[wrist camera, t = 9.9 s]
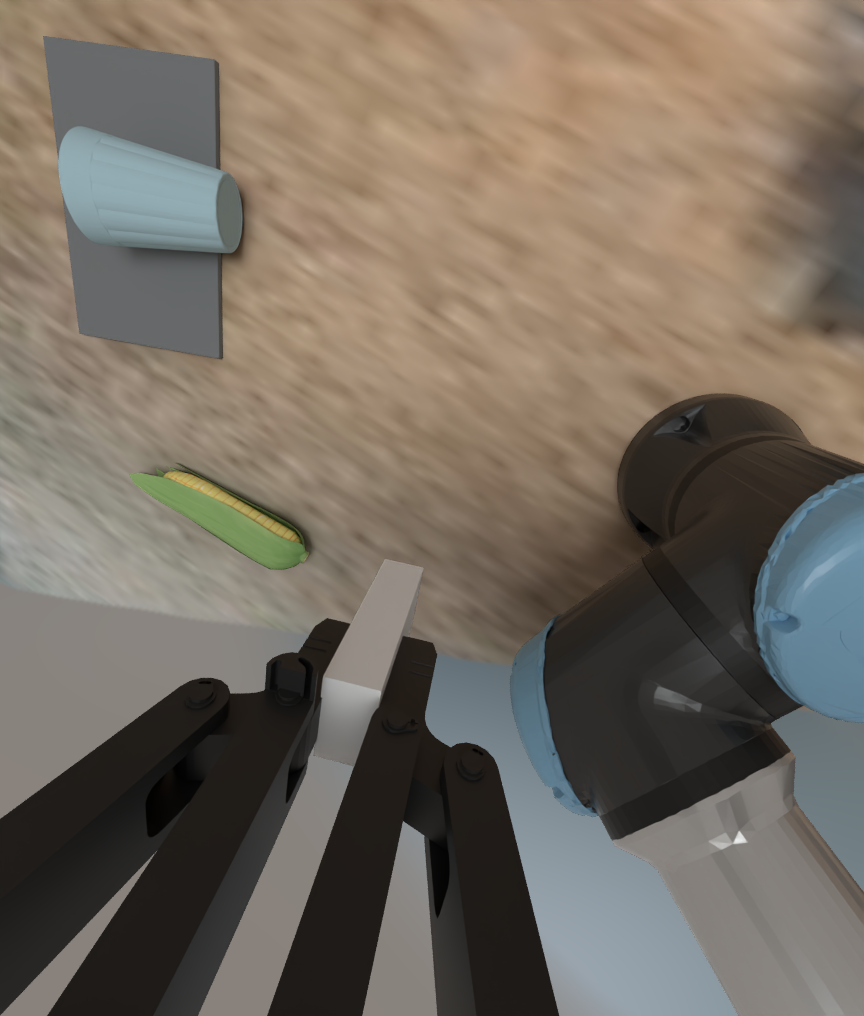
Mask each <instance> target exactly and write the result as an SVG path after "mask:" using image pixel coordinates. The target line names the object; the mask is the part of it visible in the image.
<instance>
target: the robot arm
mask: <svg viewBox="0 0 864 1016" xmlns="http://www.w3.org/2000/svg"><path fill="white" fill-rule="evenodd" d="M618 497H619V502H620V505H621V508H622V511H623V513H624V515H625V517H626V519H627V520H628V522H629V524H630V525H631V527H632V528H633V529H634V531H635V532H636V533H637V535H638V536H639V537H640V538H641V539H642V540H643V541H644V542H645V543H646V544H648V545H649V546H650V547H651V548H653V549H654V551H652V552H651V553H649V554H648V555H647V556H645V557H643V558H641V559H640V560H639V561H637V562H636V563H634V564H633V565H632V566H630V567H629V568H627V569H626V570H625V571H623V572H622V573H620V574H619V575H618V576H616V577H615V578H613V579H612V580H611V581H609V582H608V583H606V584H605V585H604V586H602V587H601V588H599V589H598V590H597V591H595V592H594V593H593V594H591V595H590V596H588V597H587V598H586V599H584V600H583V601H581V602H580V603H579V604H577V605H576V606H574V607H573V608H571V609H570V610H568V611H567V612H565V613H564V614H560V615H558V616H556V617H554V618H553V619H551V620H550V621H549V622H548V624H547V625H546V627H545V628H544V629H543V630H542V631H540V632H539V633H538V634H537V635H536V636H534V637H533V638H532V639H531V640H529V641H528V642H527V643H525V644H524V645H523V646H522V647H521V649H520V650H519V651H518V653H517V655H516V657H515V659H514V662H513V667H512V674H511V677H510V694H511V703H512V709H513V714H514V718H515V722H516V725H517V728H518V731H519V735H520V737H521V740H522V743H523V745H524V748H525V750H526V752H527V755H528V757H529V759H530V761H531V763H532V765H533V767H534V769H535V770H536V772H537V774H538V775H539V777H540V778H541V780H542V781H543V783H544V784H545V786H548V787H552V789H553V793H554V796H555V798H556V799H557V800H558V801H559V802H560V803H561V804H562V805H563V806H564V807H565V808H566V809H568V810H569V811H571V812H573V813H575V814H578V815H582V816H585V815H587V816H591V817H596V816H598V815H599V817H600V818H601V820H602V822H603V824H604V826H605V828H606V830H607V832H608V834H609V836H610V837H611V839H612V841H613V843H614V845H615V846H616V847H618V848H620V849H622V850H624V851H626V852H628V853H630V854H632V855H634V856H636V857H638V858H640V859H643V860H644V861H646V862H648V863H649V864H651V865H652V866H653V867H654V868H656V869H657V870H658V872H659V873H660V876H661V878H662V879H663V881H664V883H665V885H666V886H667V888H668V890H669V892H670V894H671V895H672V897H673V899H674V901H675V903H676V904H677V906H678V908H679V910H680V912H681V913H682V915H683V917H684V919H685V921H686V922H687V924H688V926H689V928H690V930H691V931H692V933H693V935H694V937H695V938H696V940H697V942H698V944H699V946H700V947H701V949H702V951H703V953H704V955H705V957H706V958H707V960H708V962H709V964H710V965H711V967H712V969H713V971H714V973H715V974H716V976H717V978H718V980H719V981H720V983H721V985H722V987H723V989H724V991H725V993H726V994H727V996H728V998H729V1000H730V1002H731V1003H732V1005H733V1007H734V1009H735V1010H736V1012H737V1014H738V1016H864V892H863V891H862V889H861V888H860V887H859V885H858V884H857V883H856V881H855V880H854V879H853V878H852V876H851V875H850V874H849V872H848V871H847V870H846V868H845V867H844V866H843V864H842V863H841V862H840V860H839V859H838V858H837V857H836V855H835V854H834V853H833V851H832V850H831V848H830V847H829V846H828V845H827V843H826V842H825V841H824V839H823V838H822V837H821V835H820V834H819V833H818V831H817V830H816V829H815V828H814V826H813V825H812V823H811V822H810V821H809V820H808V818H807V817H806V816H805V814H804V813H803V812H802V810H801V809H800V808H799V806H798V804H797V802H796V800H795V798H794V796H793V792H794V774H795V756H794V755H793V753H792V752H791V750H790V749H789V748H788V746H787V745H786V744H785V743H784V741H783V740H782V739H781V738H780V736H779V735H778V734H777V733H776V731H775V730H774V729H773V728H772V726H771V723H772V722H773V721H775V720H777V719H779V718H780V717H782V716H784V715H786V714H788V713H790V712H792V711H794V710H796V709H798V708H800V707H802V706H806V707H808V708H809V709H811V710H813V711H816V712H818V713H820V714H822V715H824V716H827V717H830V718H834V719H836V720H843V721H847V722H855V723H864V464H862V463H860V462H857V461H854V460H851V459H849V458H846V457H843V456H840V455H838V454H835V453H832V452H829V451H826V450H824V449H821V448H818V447H815V446H813V445H811V444H810V442H809V441H808V440H807V438H806V437H805V436H804V434H803V432H802V431H801V429H800V428H799V427H798V425H797V424H796V423H795V422H794V421H793V420H792V419H791V418H790V417H789V416H787V415H786V414H785V413H783V412H782V411H780V410H779V409H777V408H775V407H774V406H772V405H769V404H767V403H765V402H762V401H759V400H755V399H752V398H748V397H745V396H740V395H734V394H709V395H702V396H698V397H694V398H691V399H687V400H685V401H682V402H680V403H677V404H675V405H673V406H671V407H669V408H667V409H666V410H664V411H663V412H661V413H660V414H658V415H657V416H655V417H654V418H653V419H652V420H650V421H649V422H648V423H647V424H646V425H645V426H644V427H643V428H642V429H641V430H640V431H639V433H638V434H637V435H636V436H635V438H634V439H633V440H632V442H631V444H630V445H629V447H628V449H627V451H626V453H625V455H624V457H623V460H622V462H621V466H620V469H619V474H618ZM422 573H423V567H418V566H414V565H410V564H406V563H401V562H397V561H393V560H388V559H385V560H384V562H383V564H382V565H381V567H380V569H379V571H378V573H377V575H376V577H375V579H374V581H373V583H372V584H371V586H370V588H369V590H368V592H367V594H366V596H365V598H364V600H363V602H362V603H361V605H360V607H359V609H358V611H357V613H356V615H355V617H354V619H353V621H352V622H351V624H349V623H345V622H341V621H337V620H332V619H328V618H327V619H325V620H324V621H322V622H321V623H319V624H318V625H316V626H315V627H314V629H313V630H312V632H311V633H310V635H309V637H308V639H307V640H306V641H305V643H304V644H303V647H301V649H300V651H299V652H298V653H293V652H292V653H285V654H281V655H278V656H276V657H274V658H272V659H271V660H270V661H269V662H268V663H267V667H266V682H265V690H264V691H261V692H257V693H245V694H230V691H229V688H228V686H227V685H226V684H225V683H224V682H222V681H221V680H218V679H214V678H200V679H196V680H192V681H189V682H187V683H186V684H184V685H182V686H180V687H179V688H177V689H176V690H175V691H174V692H172V693H171V694H169V695H168V696H167V697H165V698H164V699H163V700H161V701H160V702H158V703H157V704H156V705H154V706H153V707H152V708H150V709H149V710H148V711H146V712H145V713H143V714H142V715H141V716H139V717H138V718H137V719H135V720H134V721H133V722H131V723H130V724H129V725H127V726H126V727H124V728H123V729H122V730H120V731H119V732H118V733H116V734H115V735H114V736H112V737H111V738H110V739H108V740H107V741H106V742H104V743H103V744H102V745H100V746H99V747H97V748H96V749H95V750H93V751H92V752H91V753H89V754H88V755H87V756H85V757H84V758H83V759H81V760H80V761H79V762H77V763H76V764H74V765H73V766H72V767H70V768H69V769H68V770H66V771H65V772H63V773H62V774H61V775H60V776H58V777H57V778H55V779H54V780H53V781H51V782H50V783H48V784H47V785H46V786H44V787H43V788H42V789H40V790H39V791H38V792H37V793H35V794H34V795H32V796H31V797H29V798H28V799H27V800H25V801H24V802H23V803H22V804H20V805H19V806H17V807H16V808H15V809H13V810H12V811H10V812H9V813H8V814H7V815H5V816H4V817H2V818H1V819H0V1015H1V1014H2V1013H3V1012H4V1011H5V1010H6V1009H7V1008H8V1007H9V1005H10V1004H11V1003H12V1002H13V1001H14V1000H15V999H16V998H17V997H18V996H19V995H20V994H21V993H22V992H23V991H24V990H25V989H26V988H27V987H28V985H29V984H30V983H31V982H32V981H33V980H34V979H35V978H36V977H37V976H38V975H39V974H40V973H41V972H42V971H43V970H44V968H46V967H47V966H48V964H49V963H50V962H51V961H52V960H53V959H54V958H55V957H56V956H57V955H58V954H59V953H60V952H61V951H62V950H63V949H64V948H65V946H67V945H68V943H69V942H70V941H71V940H72V939H73V938H74V937H75V936H76V935H77V934H78V933H79V932H80V931H81V930H82V929H83V928H84V927H85V926H86V924H87V923H88V922H89V921H90V920H91V919H92V918H93V917H94V916H95V915H96V914H97V913H98V912H99V911H100V910H101V909H102V908H103V907H104V906H105V905H106V904H107V902H108V901H109V900H110V899H111V898H112V897H113V896H114V895H115V894H116V893H117V892H118V891H119V890H120V889H121V888H122V887H123V886H124V885H125V884H126V883H127V881H128V880H129V879H130V878H131V877H132V876H133V875H134V874H135V873H136V872H137V871H138V870H139V869H140V868H141V867H142V866H143V865H144V864H145V863H146V862H147V861H148V859H149V858H150V857H151V856H152V855H153V854H154V853H155V852H156V851H157V852H156V854H155V855H154V856H153V858H152V859H151V861H150V862H149V864H148V866H147V867H146V868H145V870H144V872H143V873H142V874H141V876H140V877H139V879H138V881H137V882H136V883H135V885H134V887H133V888H132V889H131V891H130V892H129V894H128V895H127V897H126V898H125V900H124V901H123V903H122V904H121V906H120V908H119V909H118V911H117V912H116V914H115V915H114V916H113V918H112V919H111V921H110V922H109V924H108V925H107V927H106V928H105V930H104V931H103V933H102V934H101V936H100V937H99V939H98V941H97V942H96V943H95V945H94V946H93V948H92V949H91V951H90V953H89V954H88V955H87V957H86V959H85V960H84V961H83V963H82V964H81V966H80V967H79V969H78V970H77V972H76V973H75V975H74V976H73V978H72V979H71V981H70V983H69V984H68V985H67V987H66V988H65V990H64V991H63V993H62V994H61V996H60V997H59V999H58V1001H57V1002H56V1003H55V1005H54V1007H53V1008H52V1009H51V1011H50V1012H49V1014H48V1015H47V1016H198V1014H199V1012H200V1010H201V1007H202V1005H203V1003H204V1000H205V998H206V996H207V994H208V991H209V989H210V987H211V985H212V983H213V980H214V978H215V976H216V974H217V972H218V969H219V967H220V965H221V963H222V960H223V958H224V956H225V953H226V951H227V949H228V947H229V945H230V942H231V940H232V938H233V936H234V933H235V931H236V929H237V927H238V924H239V922H240V920H241V918H242V915H243V913H244V911H245V909H246V906H247V904H248V902H249V900H250V898H251V895H252V893H253V891H254V888H255V886H256V884H257V882H258V879H259V877H260V875H261V873H262V871H263V868H264V866H265V864H266V862H267V859H268V857H269V855H270V853H271V850H272V848H273V846H274V844H275V841H276V839H277V837H278V835H279V832H280V830H281V828H282V826H283V823H284V821H285V819H286V817H287V815H288V812H289V810H290V808H291V806H292V803H293V801H294V799H295V797H296V794H297V792H298V790H299V787H300V785H301V783H302V781H303V779H304V776H305V774H306V770H307V764H308V757H309V755H310V753H311V751H312V749H313V747H314V744H315V747H314V756H317V757H321V758H324V759H328V760H332V761H336V762H340V763H343V764H347V765H351V766H354V768H353V771H352V774H351V777H350V780H349V783H348V786H347V789H346V791H345V794H344V797H343V800H342V803H341V806H340V809H339V811H338V814H337V817H336V820H335V823H334V826H333V829H332V831H331V834H330V837H329V840H328V843H327V846H326V849H325V852H324V855H323V858H322V860H321V863H320V866H319V869H318V872H317V875H316V877H315V880H314V883H313V886H312V889H311V892H310V895H309V898H308V900H307V903H306V906H305V909H304V912H303V915H302V918H301V921H300V924H299V926H298V929H297V932H296V935H295V938H294V941H293V943H292V946H291V949H290V952H289V955H288V958H287V961H286V963H285V967H284V969H283V972H282V975H281V978H280V981H279V984H278V987H277V989H276V992H275V995H274V998H273V1001H272V1004H271V1006H270V1009H269V1013H268V1015H267V1016H362V1014H363V1009H364V1004H365V999H366V995H367V990H368V985H369V980H370V975H371V971H372V966H373V961H374V956H375V951H376V947H377V942H378V937H379V933H380V928H381V923H382V918H383V914H384V909H385V904H386V899H387V894H388V890H389V885H390V880H391V875H392V871H393V866H394V861H395V856H396V851H397V847H398V842H399V837H400V832H401V828H402V823H403V821H404V822H405V823H407V824H408V825H410V826H411V827H413V828H414V829H416V830H418V831H419V832H420V833H422V834H423V835H424V836H425V838H424V839H425V853H426V868H427V881H428V894H429V907H430V921H431V935H432V949H433V961H434V976H435V988H436V1002H437V1015H438V1016H559V1013H558V1009H557V1005H556V1001H555V997H554V993H553V989H552V985H551V981H550V977H549V973H548V968H547V965H546V961H545V956H544V952H543V948H542V944H541V940H540V936H539V932H538V928H537V924H536V920H535V916H534V912H533V908H532V903H531V899H530V896H529V891H528V887H527V884H526V880H525V875H524V871H523V867H522V863H521V859H520V855H519V851H518V847H517V843H516V839H515V835H514V831H513V827H512V822H511V819H510V814H509V810H508V806H507V802H506V798H505V794H504V790H503V786H502V782H501V778H500V774H499V770H498V767H497V764H496V762H495V760H494V758H493V757H492V756H491V755H490V754H489V753H488V752H487V751H486V750H485V749H483V748H481V747H480V746H478V745H475V744H470V743H459V744H456V745H454V746H453V747H449V746H447V745H445V744H444V743H442V742H441V741H439V740H438V739H436V738H435V737H434V736H433V735H432V734H431V732H430V731H429V729H428V728H427V726H426V722H425V711H426V706H427V701H428V697H429V692H430V687H431V681H432V677H433V672H434V667H435V663H436V658H437V653H436V650H435V647H434V645H433V643H431V642H427V641H423V640H419V639H415V638H410V637H409V634H410V631H411V628H412V623H413V618H414V613H415V608H416V603H417V598H418V593H419V588H420V583H421V578H422Z"/></svg>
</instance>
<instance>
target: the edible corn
mask: <svg viewBox="0 0 864 1016" xmlns="http://www.w3.org/2000/svg"><path fill="white" fill-rule="evenodd" d="M176 464H177V463H176ZM178 465H179V464H178ZM180 466H181V465H180ZM166 467H167V466H166ZM181 467H183V466H181ZM168 468H170V467H168ZM183 468H185V467H183ZM170 469H172V470H174V471H172V472H168V473H166V474H165V473H163V472H161V471H160V470H158V469H156V471H157V474H158V476H159V477H158V476H153V475H148V474H143V473H134V474H129V475H130V477H131V479H132V480H133V482H134V484H135V485H136V486H138V487H139V488H141V489H142V490H143V491H145V492H146V493H148V494H149V495H150V496H152V497H153V498H155V499H156V500H158V501H160V502H161V503H163V504H165V505H167V506H168V507H170V508H172V509H174V510H175V511H177V512H179V513H181V514H182V515H184V516H186V517H188V518H189V519H191V520H192V521H194V522H195V523H196V524H198V525H199V526H201V527H202V528H204V529H205V530H207V531H208V532H210V533H211V534H213V535H214V536H216V537H217V538H219V539H220V540H222V541H223V542H225V543H226V544H228V545H229V546H231V547H232V548H234V549H235V550H237V551H238V552H240V553H242V554H244V555H245V556H247V557H249V558H250V559H252V560H254V561H255V562H257V563H259V564H261V565H263V566H265V567H267V568H269V569H287V568H291V567H294V566H296V565H297V564H298V563H299V562H301V563H304V562H305V560H306V559H307V557H308V555H309V552H307V551H306V550H305V545H304V539H303V536H302V535H301V533H300V531H298V530H297V529H296V528H295V527H294V526H292V525H291V524H290V523H288V522H286V521H285V520H283V519H281V518H279V517H277V516H276V515H274V514H272V513H270V512H268V511H266V510H264V509H262V508H260V507H258V506H256V505H254V504H252V503H250V502H248V501H247V500H245V499H243V498H241V497H239V496H237V495H235V494H233V493H231V492H229V491H228V490H226V489H224V488H222V487H220V486H218V485H216V484H214V483H213V482H211V481H209V480H207V479H205V478H203V477H201V476H200V475H198V474H196V473H194V472H192V471H190V470H189V469H187V468H185V469H187V470H188V471H190V472H191V473H193V474H195V475H196V476H194V475H191V474H188V473H185V472H183V471H179V470H176V469H173V468H170ZM197 476H198V477H197ZM199 477H200V478H199ZM201 478H202V479H201ZM296 532H297V533H296Z"/></svg>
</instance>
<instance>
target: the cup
mask: <svg viewBox="0 0 864 1016" xmlns="http://www.w3.org/2000/svg"><path fill="white" fill-rule="evenodd" d="M58 169H59V179H60V185H61V189H62V193H63V197H64V200H65V203H66V205H67V208H68V210H69V212H70V215H71V216H72V218H73V220H74V222H75V223H76V225H77V226H78V228H79V229H80V230H81V232H82V233H83V234H84V235H85V236H86V237H87V238H88V239H90V240H91V241H93V242H94V243H96V244H99V245H106V246H122V247H139V248H154V249H169V250H184V251H199V252H214V253H232V252H234V251H235V250H236V249H237V247H238V245H239V243H240V239H241V234H242V221H243V217H242V204H241V198H240V193H239V190H238V187H237V184H236V182H235V180H234V178H233V177H232V176H231V175H230V174H229V173H228V172H225V171H222V170H219V169H216V168H213V167H210V166H206V165H203V164H200V163H197V162H194V161H191V160H188V159H184V158H181V157H178V156H175V155H172V154H169V153H165V152H162V151H159V150H156V149H153V148H150V147H147V146H143V145H140V144H137V143H134V142H131V141H128V140H124V139H121V138H118V137H115V136H112V135H109V134H106V133H103V132H100V131H97V130H94V129H90V128H87V127H83V126H77V127H74V128H72V129H70V130H69V131H68V132H67V133H66V135H65V136H64V138H63V140H62V143H61V146H60V151H59V160H58Z"/></svg>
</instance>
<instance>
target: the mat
mask: <svg viewBox="0 0 864 1016" xmlns="http://www.w3.org/2000/svg"><path fill="white" fill-rule="evenodd" d="M43 38H44V46H45V55H46V63H47V71H48V79H49V88H50V96H51V104H52V112H53V120H54V129H55V137H56V145H57V153H58V160H59V151H60V146H61V143H62V140H63V138H64V136H65V135H66V133H67V132H68V131H69V130H70V129H72V128H74V127H77V126H83V127H87V128H90V129H94V130H97V131H100V132H103V133H106V134H109V135H112V136H115V137H118V138H121V139H124V140H128V141H131V142H134V143H137V144H140V145H143V146H147V147H150V148H153V149H156V150H159V151H162V152H165V153H169V154H172V155H175V156H178V157H181V158H184V159H188V160H191V161H194V162H197V163H200V164H203V165H206V166H210V167H213V168H216V169H219V170H220V126H219V63H218V62H216V61H215V60H214V59H207V58H200V57H192V56H185V55H178V54H171V53H163V52H156V51H149V50H141V49H134V48H127V47H120V46H112V45H105V44H98V43H91V42H83V41H76V40H69V39H61V38H54V37H47V36H43ZM62 194H63V193H62ZM63 203H64V211H65V219H66V227H67V235H68V244H69V252H70V260H71V268H72V276H73V285H74V293H75V301H76V309H77V318H78V326H79V334H84V335H90V336H95V337H101V338H107V339H112V340H118V341H123V342H129V343H135V344H140V345H146V346H151V347H157V348H163V349H168V350H174V351H179V352H185V353H191V354H196V355H202V356H207V357H213V358H219V359H220V358H223V348H222V274H221V253H214V252H199V251H184V250H169V249H154V248H139V247H122V246H106V245H99V244H96V243H94V242H93V241H91V240H90V239H88V238H87V237H86V236H85V235H84V234H83V233H82V232H81V230H80V229H79V228H78V226H77V225H76V223H75V222H74V220H73V218H72V216H71V215H70V212H69V210H68V208H67V205H66V203H65V200H64V197H63Z"/></svg>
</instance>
